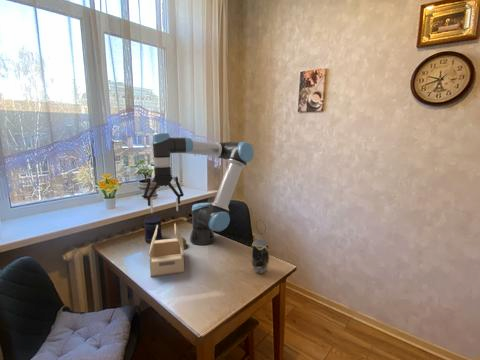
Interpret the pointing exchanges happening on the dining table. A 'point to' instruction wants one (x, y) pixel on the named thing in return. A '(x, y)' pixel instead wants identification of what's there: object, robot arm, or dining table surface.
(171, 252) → the carton
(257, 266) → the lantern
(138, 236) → the dining table surface
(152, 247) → the flap
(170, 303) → the dining table surface
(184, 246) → the seashell
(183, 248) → the flap
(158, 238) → the dark blue barrel
